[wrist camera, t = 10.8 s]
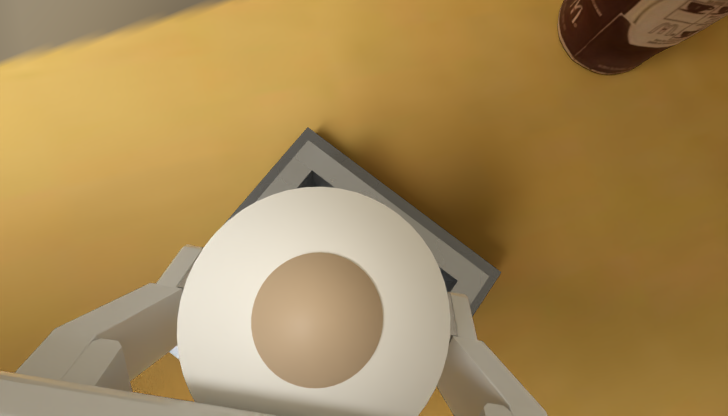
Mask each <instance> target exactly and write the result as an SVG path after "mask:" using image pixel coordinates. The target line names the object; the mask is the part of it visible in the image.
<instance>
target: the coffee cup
mask: <svg viewBox="0 0 728 416" xmlns="http://www.w3.org/2000/svg"><path fill="white" fill-rule="evenodd" d="M726 15H728V0H564V1H563V3H562V6H561V8H560V12H559V18H558V34H559V37H560V41H561V43H562V45H563V47H564V49H565V50H566V52H567V53H568V55H569V56H570V58H571V59H572V60H574V61H575V62H576V63H578V64H580V65H581V66H583V67H585V68H587V69H589V70H591V71H593V72H596V73H600V74H617V73H623V72H627V71H630V70H632V69H633V68H635V67H637V66H639V65H640V64H642V63H643V62H644V61H646V60H648V59H649V58H650V57H652V56H654V55H655V54H657V53H659V52H661V51H663V50H665V49H667V48H669V47H671V46H673V45H676V44H678V43H680V42H681V41H684V40H686V39H688V38H689V37H691V36H693V35H694V34H696V33H698V32H700V31H702V30H703V29H705V28H707V27H708V26H710V25H711V24H713V23H715V22H716V21H718V20H720V19H721V18H723V17H725V16H726Z"/></svg>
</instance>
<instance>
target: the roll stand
mask: <svg viewBox="0 0 728 416" xmlns="http://www.w3.org/2000/svg"><path fill="white" fill-rule="evenodd" d="M304 187H331V188H340V189H344V190H349V191H353V192H357V193H359V194H362V195H365V196H368V197H370V198H372V199H374V200H376V201H378V202H380V203H382V204H384V205H386V206H387V207H389V208H390V209H392V210H393V211H395V212H396V213H397V214H399V215H400V216H401V217H402V218H403V219H404V220H406V221H407V222H408V223H409V224H410V225H411V226H412V227H413V228H414V229H415V230H416V232H417V233H418V234H419V235H420V236H421V237H422V239H423V240H424V242H425V243H426V245H427V246H428V248H429V249H430V251H431V252H432V254H433V256H434V258H435V260H436V262H437V264H438V266H439V268H440V271H441V274H442V277H443V279H444V282H445V286H446V290H447V292H452V293H459V294H465V295H466V296H467V297H468V301H469V305H470V309H471V314H472V316H473V315H474V313H475V312H476V310H477V309H478V307H479V306H480V304H481V303H482V301H483V300H484V298H485V297H486V295H487V293H488V292H489V290H490V289H491V287H492V286H493V284H494V283H495V281H496V280H497V278H498V277H499V275H500V274H501V272H500V271H499V270H497V269H496V268H495V267H493V266H492V265H491V264H489V263H488V262H487V261H485V260H484V259H483V258H481V257H480V256H479V255H477V254H476V253H475V252H473V251H472V250H471V249H469V248H468V247H467V246H465V245H464V244H463V243H461V242H460V241H459V240H457V239H456V238H455V237H453V236H452V235H451V234H449V233H448V232H447V231H445V230H444V229H443V228H441V227H440V226H439V225H437V224H436V223H435V222H433V221H432V220H431V219H429V218H428V217H427V216H425V215H424V214H423V213H421V212H420V211H419V210H417V209H416V208H415V207H413V206H412V205H411V204H409V203H408V202H407V201H405V200H404V199H403V198H401V197H400V196H399V195H397V194H396V193H395V192H393V191H392V190H391V189H389V188H388V187H387V186H385V185H384V184H383V183H381V182H380V181H379V180H377V179H376V178H375V177H373V176H372V175H371V174H369V173H368V172H367V171H365V170H364V169H363V168H361V167H360V166H359V165H357V164H356V163H355V162H353V161H352V160H351V159H349V158H348V157H347V156H345V155H344V154H343V153H341V152H340V151H339V150H337V149H336V148H335V147H333V146H332V145H331V144H329V143H328V142H327V141H325V140H324V139H323V138H321V137H320V136H319V135H317V134H316V133H315V132H313V131H312V130H311V129H309V128H308V127H307V129H306V130H305V131H304V132H303V133H302V134H301V136H300V137H299V138H298V139H297V140H296V141H295V143H294V144H293V145H292V146H291V147H290V148H289V150H288V151H287V152H286V153H285V154H284V155H283V156H282V158H281V159H280V160H279V161H278V162H277V163H276V165H275V166H274V167H273V168H272V169H271V170H270V172H269V173H268V174H267V175H266V176H265V177H264V178H263V180H262V181H261V182H260V183H259V184H258V185H257V187H256V188H255V189H254V190H253V191H252V192H251V194H250V195H249V196H248V197H247V198H246V199H245V201H244V202H243V203H242V204H241V205H240V206H239V207H238V209H237V210H236V211H235V212H234V213H233V214H232V216H231V217H230V218H229V219H228V220H230V219H231V218H232V217H233V216H235V215H236V214H237V213H239V212H240V211H241V210H243V209H245V208H246V207H248V206H250V205H251V204H253V203H255V202H257V201H259V200H261V199H264V198H266V197H268V196H271V195H273V194H276V193H280V192H283V191H287V190H291V189H298V188H304ZM228 220H227V221H228ZM227 221H226V222H227ZM169 352H170V353H171V354H173V355H174V356H175V357H176V358H178V359H179V354H178V345H177V346H176V347H175V348H173V349H172V350H171V351H169ZM179 360H180V359H179Z"/></svg>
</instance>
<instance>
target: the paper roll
mask: <svg viewBox="0 0 728 416" xmlns="http://www.w3.org/2000/svg"><path fill="white" fill-rule="evenodd" d="M450 320H451V318H450V308H449V299H448V295H447V290H446V286H445V282H444V279H443V277H442V274H441V271H440V268H439V266H438V264H437V262H436V260H435V258H434V256H433V254H432V252H431V251H430V249H429V248H428V246H427V245H426V243H425V242H424V240H423V239H422V237H421V236H420V235H419V234H418V233H417V232H416V230H415V229H414V228H413V227H412V226H411V225H410V224H409V223H408V222H407V221H406V220H404V219H403V218H402V217H401V216H400V215H399V214H397V213H396V212H395V211H393V210H392V209H390V208H389V207H387V206H386V205H384V204H382V203H380V202H378V201H376V200H374V199H372V198H370V197H368V196H365V195H362V194H359V193H357V192H353V191H349V190H344V189H340V188H331V187H304V188H298V189H291V190H287V191H283V192H280V193H276V194H273V195H271V196H268V197H266V198H264V199H261V200H259V201H257V202H255V203H253V204H251V205H250V206H248V207H246V208H245V209H243V210H241V211H240V212H239V213H237V214H236V215H235V216H233V217H232V218H231V219H230V220H228V221H227V222H226V223H225V224H224V225H223V226H222V227H221V228H220V229H219V230H218V231H217V232H216V233H215V234H214V235H213V236H212V238H211V239H210V240H209V242H208V243H207V244H206V245H205V247H204V248H203V249H202V251H201V253H200V254H199V256H198V258H197V259H196V261H195V263H194V264H193V267H192V269H191V271H190V273H189V276H188V278H187V280H186V283H185V286H184V290H183V293H182V296H181V300H180V306H179V312H178V319H177V344H178V354H179V359H180V364H181V368H182V372H183V376H184V378H185V381H186V383H187V386H188V389H189V391H190V393H191V395H192V397H193V399H194V401H195V402H197V403H203V404H209V405H216V406H222V407H228V408H234V409H240V410H246V411H253V412H259V413H265V414H271V415H277V416H418V415H419V414H420V412H421V411H422V410H423V408H424V407H425V406H426V404H427V402H428V401H429V399H430V397H431V395H432V394H433V392H434V390H435V388H436V386H437V383H438V381H439V379H440V376H441V374H442V371H443V368H444V364H445V361H446V357H447V353H448V346H449V340H450Z"/></svg>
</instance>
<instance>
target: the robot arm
mask: <svg viewBox="0 0 728 416" xmlns="http://www.w3.org/2000/svg"><path fill="white" fill-rule="evenodd" d="M202 249H203V247H198V246H193V245H189V244H187V245H185V246H184V247H182V249H181V250H180V251H179V253H178V254H177V255H176V257H175V258H174V260H173V261H172V262H171V264H170V265H169V266H168V268H167V269H166V270H165V272H164V273H163V275H162V276H161V277H160V279H159V280H158V281H157V283H156V284H154V283H149V284H147V285H145V286H143V287H141V288H139V289H137V290H134V291H132V292H130V293H128V294H126V295H124V296H122V297H120V298H118V299H116V300H114V301H112V302H109V303H107V304H105V305H103V306H101V307H99V308H97V309H95V310H93V311H91V312H89V313H87V314H84V315H82V316H80V317H78V318H76V319H74V320H72V321H70V322H68V323H66V324H64V325H62V326H59V327H57V328H55V329H54V330H53V331H52V333H51V334H50V335H49V336H48V337H47V338H46V339H45V340H44V341H43V342H42V343H41V345H40V346H39V347H38V348H37V349H36V350H35V351H34V352H33V353H32V354H31V355H30V356H29V358H28V359H27V360H26V361H25V362H24V363H23V364H22V365H21V366H20V367H19V368H18V370H17V371H16V372H15V373H11V372H5V371H0V416H277V415H271V414H265V413H259V412H253V411H246V410H240V409H234V408H228V407H222V406H216V405H209V404H203V403H197V402H191V401H185V400H178V399H172V398H166V397H160V396H154V395H148V394H141V393H135V392H132V388H131V384H130V381H131V380H132V379H134V378H135V377H136V376H138V375H139V374H140V373H142V372H143V371H144V370H146V369H147V368H148V367H150V366H151V365H152V364H153V363H155V362H156V361H157V360H159V359H160V358H161V357H163V356H164V355H165V354H167V353H168V352H169V351H171V350H172V349H173V348H175V347H176V346H177V345H178V344H177V319H178V312H179V306H180V300H181V296H182V293H183V290H184V286H185V283H186V280H187V278H188V276H189V273H190V271H191V269H192V267H193V264H194V263H195V261H196V259H197V258H198V256H199V254H200V253H201V251H202ZM447 295H448V299H449V308H450V318H451V320H450V340H449V346H448V353H447V357H446V361H445V364H444V368H443V371H442V374H441V376H440V379H439V381H438V383H437V388H438V389H439V391H440V393H441V395H442V396H443V398H444V400H445V401H446V403H447V405H448V406H449V408H450V410H451V411H452V413H453V415H454V416H547V413H546V411H545V410H544V409H543V408H542V407H541V405H540V404H539V403H538V402H537V401H536V400H535V399H534V398H533V397H532V395H531V394H530V393H529V392H528V391H527V390H526V389H525V388H524V387H523V385H522V384H521V383H520V382H519V381H518V380H517V379H516V378H515V377H514V375H513V374H512V373H511V372H510V371H509V370H508V369H507V368H506V367H505V365H504V364H503V363H502V362H501V361H500V360H499V359H498V358H497V357H496V355H495V354H494V353H493V352H492V351H491V350H490V349H489V348H488V347H487V345H486V344H485V343H484V342H483V341H479V340H478V339H477V335H476V331H475V326H474V322H473V318H472V314H471V309H470V305H469V301H468V297H467V296H466V295H465V294H459V293H452V292H447Z"/></svg>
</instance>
